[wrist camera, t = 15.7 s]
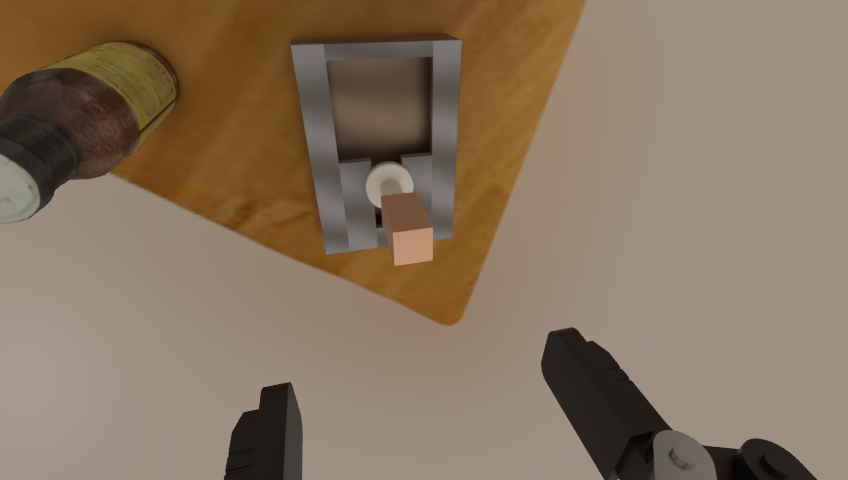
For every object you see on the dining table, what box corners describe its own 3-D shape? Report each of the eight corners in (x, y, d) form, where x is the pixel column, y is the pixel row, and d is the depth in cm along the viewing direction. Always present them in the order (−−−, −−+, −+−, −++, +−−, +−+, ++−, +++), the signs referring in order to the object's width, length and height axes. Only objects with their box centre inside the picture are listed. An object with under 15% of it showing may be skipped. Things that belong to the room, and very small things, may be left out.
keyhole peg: (362, 163, 37) (381, 224, 27) (410, 159, 38) (443, 216, 28) (366, 206, 39) (384, 275, 30) (411, 201, 40) (442, 266, 31)
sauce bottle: (97, 25, 30) (-145, 71, 14) (188, 59, 33) (71, 132, 17) (92, 105, 33) (-116, 220, 17) (176, 131, 36) (65, 253, 19)
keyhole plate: (292, 38, 34) (290, 45, 30) (446, 34, 37) (461, 40, 33) (324, 232, 45) (326, 254, 41) (441, 217, 48) (452, 237, 44)
